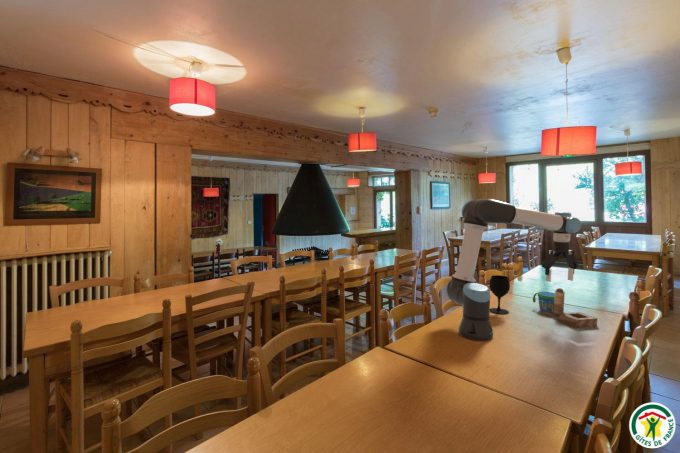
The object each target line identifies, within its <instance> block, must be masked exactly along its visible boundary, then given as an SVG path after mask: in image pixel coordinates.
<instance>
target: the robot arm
mask: <svg viewBox="0 0 680 453" xmlns="http://www.w3.org/2000/svg"><path fill="white" fill-rule="evenodd" d="M461 216H462V218H463V223H462V224H463V226H464V227H465V228H464V233H463V239H462V243H461V247H460V251H459V252H460V253H459V257H458V262H457V267H456V271H455V273H453V274H452V275H451V278H450V280H449V281H447V283H446V285H445V294H446V296H447V297H448V299H449V300H450V301H451V302H452V303H455V304H457V305H459V306H461V307H462V318H461V321H460V323H459V326H458V334H459V335H460V336H462V337H463V338H464V339H468V340H472V341H479V342H483V341H484V342H486V341H490V340H493V338H494V330H493V327H492V325H491V322H490V313H491V312H490V309H491V308H490V306H491V305H490V304H491V302H490V301H491V292H490V291H491V290H490V288H489V287H488V286H487V285H484V284H481V283H477V280H476V279H475V271H476V267H477V263H478V257H479V252H480V248H481V244H482V239H483V238H482V237H483V234H484V231H485V230H486V229H488V227H489V224H503V225H511V224H517V225H521V226H529V227H533V228H534V230H537V231H551V232H553V237H552V238H553V239H552V240H553V242H552V248H553V250H550V249H549V250H547V253H546V254H547V255H546V256H545V258H544V261H543V262H542V264H541V267H542V268H544V270H545V271H544V275H545V281H546V282H552V269H551V268H552V267H553V265H555V263H556V262H557V261H558V260H561V259H562V260H564V262H566V264H567V265H568V268H567V281H571V282H573V281H574V275H575V270H576V269H577V268H579V264H578V261H577V258H576V257H575V250H574V249H573V250H572V249H570V248H571V242H570V241H571V233H573V234H575V233H578V232H579V231H580V229H581V227H582V222H581V220H580V219H579V218H578V217H575V216H572V213H571V212H569V211H568V212H566V211H565V212H563V211H562V212H561V211H560V212H559V211H557V212H554V213H549V212H543V211H538V210H533V209H527V208H522V207H517V206H515V204H514V203H513V204H512V203H507V202H503V201H500V200H497V199H493V198H474V199H470V200H468V201H466V202H465V203H464V204H463V206H462V208H461Z"/></svg>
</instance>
